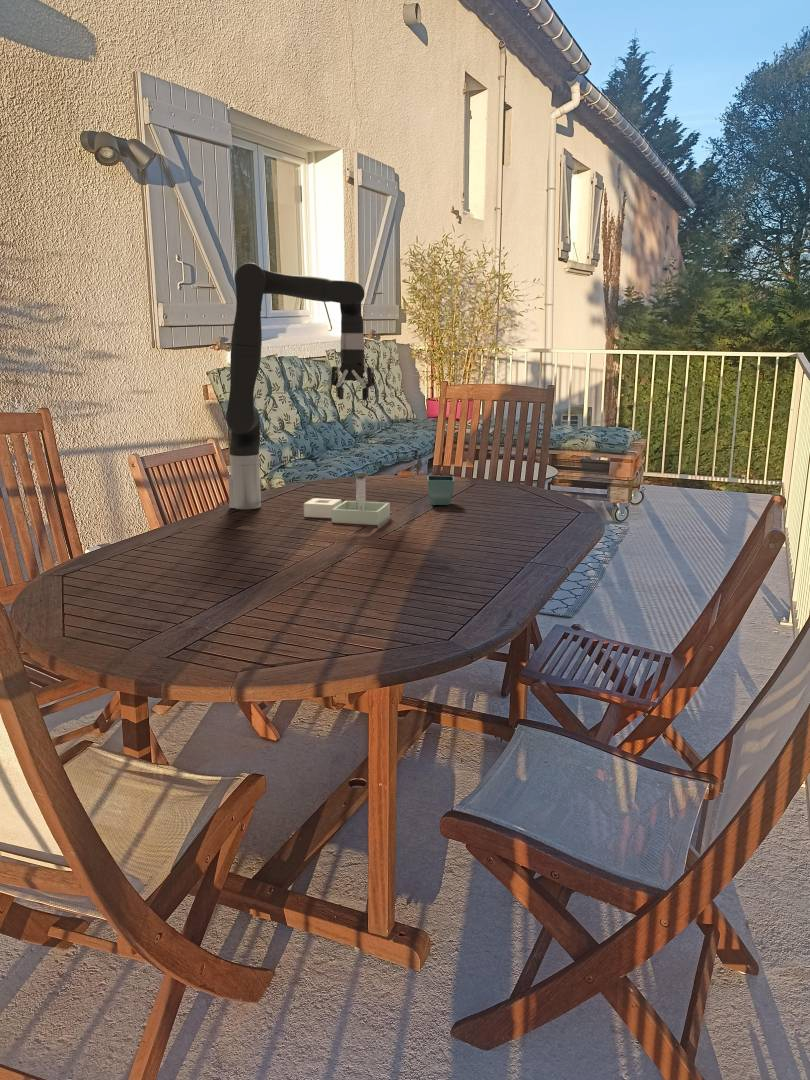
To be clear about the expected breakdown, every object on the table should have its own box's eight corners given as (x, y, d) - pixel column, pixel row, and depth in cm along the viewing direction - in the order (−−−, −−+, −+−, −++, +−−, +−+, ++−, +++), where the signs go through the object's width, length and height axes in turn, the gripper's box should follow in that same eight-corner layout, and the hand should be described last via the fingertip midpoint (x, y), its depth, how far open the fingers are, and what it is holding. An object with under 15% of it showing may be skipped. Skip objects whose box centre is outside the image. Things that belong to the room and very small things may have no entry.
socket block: (304, 519, 254) (303, 503, 252) (314, 513, 262) (313, 498, 261) (332, 521, 252) (332, 504, 250) (341, 515, 260) (341, 499, 259)
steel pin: (354, 520, 250) (353, 473, 247) (357, 517, 253) (356, 471, 250) (365, 520, 249) (364, 473, 246) (368, 518, 252) (367, 472, 249)
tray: (331, 525, 246) (331, 509, 245) (345, 515, 259) (345, 500, 258) (378, 528, 243) (377, 511, 242) (389, 518, 256) (389, 502, 255)
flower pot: (454, 507, 273) (454, 480, 271) (427, 507, 273) (427, 480, 271) (453, 502, 282) (453, 475, 280) (427, 502, 282) (427, 475, 280)
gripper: (326, 347, 266) (327, 399, 269) (367, 348, 260) (367, 401, 264) (337, 347, 272) (338, 398, 276) (377, 348, 267) (377, 399, 271)
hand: (352, 399), depth 270 cm, fingers open, 8 cm apart
